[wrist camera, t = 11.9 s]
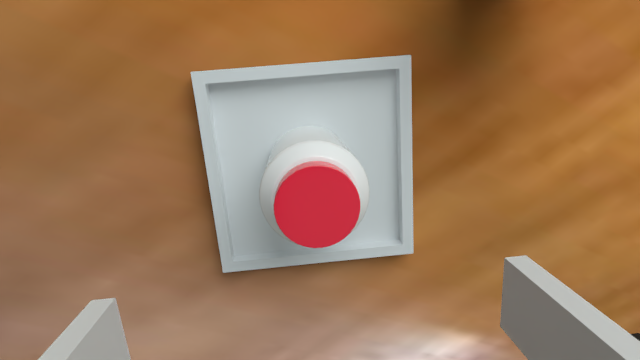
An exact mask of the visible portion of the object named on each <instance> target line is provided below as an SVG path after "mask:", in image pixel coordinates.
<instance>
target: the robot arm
mask: <svg viewBox="0 0 640 360" xmlns="http://www.w3.org/2000/svg"><path fill="white" fill-rule="evenodd" d="M500 327H501V328H502V329H503V330H504V331H505V333H506V334H507V335H508V336H509V337H510V338H511V340H512V341H513V342H514V343H515V344H516V346H517V347H518V348H519V349H520V350H521V352H522V353H523V354H524V355H525V356H526V357H527V359H528V360H640V334H639V333H636V334H629V333H628V332H627V331H625V330H624V329H623V328H621V327H620V326H619V325H617V324H616V323H615V322H613V321H612V320H611V319H609V318H608V317H607V316H606V315H604V314H603V313H602V312H600V311H599V310H598V309H596V308H595V307H594V306H592V305H591V304H590V303H588V302H587V301H586V300H584V299H583V298H582V297H580V296H579V295H578V294H576V293H575V292H574V291H572V290H571V289H570V288H568V287H567V286H566V285H564V284H563V283H562V282H560V281H559V280H558V279H557V278H555V277H554V276H553V275H551V274H550V273H549V272H547V271H546V270H545V269H543V268H542V267H541V266H539V265H538V264H537V263H535V262H534V261H533V260H531V259H530V258H529V257H527V256H516V257H507V258H505V259H504V275H503V291H502V306H501V322H500ZM38 360H131V359H130V354H129V350H128V346H127V342H126V338H125V334H124V330H123V326H122V322H121V318H120V314H119V310H118V306H117V302H116V298H109V299H99V300H91V301H90V302H89V304H88V305H87V306H86V307H85V308H84V309H83V310H82V311H81V312H80V314H79V315H78V316H77V317H76V318H75V319H74V320H73V321H72V322H71V324H70V325H69V326H68V327H67V328H66V329H65V330H64V331H63V332H62V334H61V335H60V336H59V337H58V338H57V339H56V340H55V341H54V342H53V344H52V345H51V346H50V347H49V348H48V349H47V350H46V351H45V352H44V354H43V355H42V356H41V357H40V358H39V359H38Z"/></svg>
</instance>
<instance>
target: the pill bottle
mask: <svg viewBox="0 0 640 360" xmlns="http://www.w3.org/2000/svg"><path fill="white" fill-rule="evenodd" d="M369 193H370V188H369V182H368V178H367V175H366V173H365V170H364V168H363V167H362V165H361V164H360V162H359V161H358V159H357V158H356V157H355V155H354V154H353V153H352V152H351V150H350V149H349V148H348V147H347V146H346V144H345V143H344V142H343V141H342V140H341V139H340V138H339V137H338V136H337V135H336V134H334V133H333V132H331V131H330V130H327V129H325V128H322V127H317V126H302V127H298V128H295V129H292V130H290V131H288V132H287V133H285V134H284V135H282V136H281V137H280V138H279V139H278V140H277V141H276V142H275V144H274V146H273V147H272V149H271V151H270V154H269V156H268V159H267V162H266V166H265V169H264V172H263V175H262V179H261V183H260V189H259V199H260V205H261V209H262V213H263V215H264V217H265V219H266V221H267V222H268V224H269V225H270V226H271V227H272V229H273V230H274V231H275V232H276V233H278V234H279V235H280V236H281V237H283V238H285V239H286V240H288V241H290V242H292V243H295V244H298V245H301V246H304V247H310V248H323V247H328V246H331V245H334V244H336V243H338V242H340V241H341V240H343V239H344V238H345V237H346V236H348V235H349V234H350V233H351V232H352V231H353V230H354V229H355V228H356V227H357V226H358V225H359V223H360V222H361V220H362V219H363V217H364V215H365V213H366V210H367V207H368V203H369Z"/></svg>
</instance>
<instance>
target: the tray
mask: <svg viewBox="0 0 640 360" xmlns="http://www.w3.org/2000/svg"><path fill="white" fill-rule="evenodd" d="M191 78H192V84H193V90H194V96H195V103H196V109H197V115H198V121H199V127H200V133H201V140H202V146H203V152H204V158H205V164H206V171H207V177H208V183H209V189H210V195H211V201H212V208H213V214H214V220H215V226H216V232H217V238H218V245H219V251H220V257H221V263H222V269H223V273H226V272H235V271H245V270H255V269H265V268H275V267H284V266H294V265H304V264H314V263H324V262H333V261H343V260H353V259H363V258H373V257H382V256H392V255H402V254H412V253H413V172H412V84H411V55H403V56H390V57H377V58H364V59H351V60H338V61H325V62H313V63H300V64H287V65H274V66H261V67H248V68H235V69H222V70H210V71H197V72H191ZM302 126H317V127H322V128H325V129H327V130H330V131H331V132H333V133H334V134H336V135H337V136H338V137H339V138H340V139H341V140H342V141H343V142H344V143H345V144H346V146H347V147H348V148H349V149H350V150H351V152H352V153H353V154H354V155H355V157H356V158H357V159H358V161H359V162H360V164H361V165H362V167H363V168H364V170H365V173H366V175H367V178H368V182H369V188H370V193H369V203H368V207H367V210H366V213H365V215H364V217H363V219H362V220H361V222H360V223H359V225H358V226H357V227H356V228H355V229H354V230H353V231H352V232H351V233H350V234H349V235H348V236H346V237H345V238H344V239H343V240H341V241H340V242H338V243H336V244H334V245H331V246H328V247H323V248H310V247H304V246H301V245H298V244H295V243H292V242H290V241H288V240H286V239H285V238H283V237H281V236H280V235H279V234H278V233H276V232H275V231H274V230H273V229H272V227H271V226H270V225H269V224H268V222H267V221H266V219H265V217H264V215H263V213H262V209H261V205H260V199H259V189H260V183H261V179H262V175H263V172H264V169H265V166H266V162H267V159H268V156H269V154H270V151H271V149H272V147H273V146H274V144H275V142H276V141H277V140H278V139H279V138H280V137H281V136H282V135H284V134H285V133H287V132H288V131H290V130H292V129H295V128H298V127H302Z"/></svg>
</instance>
